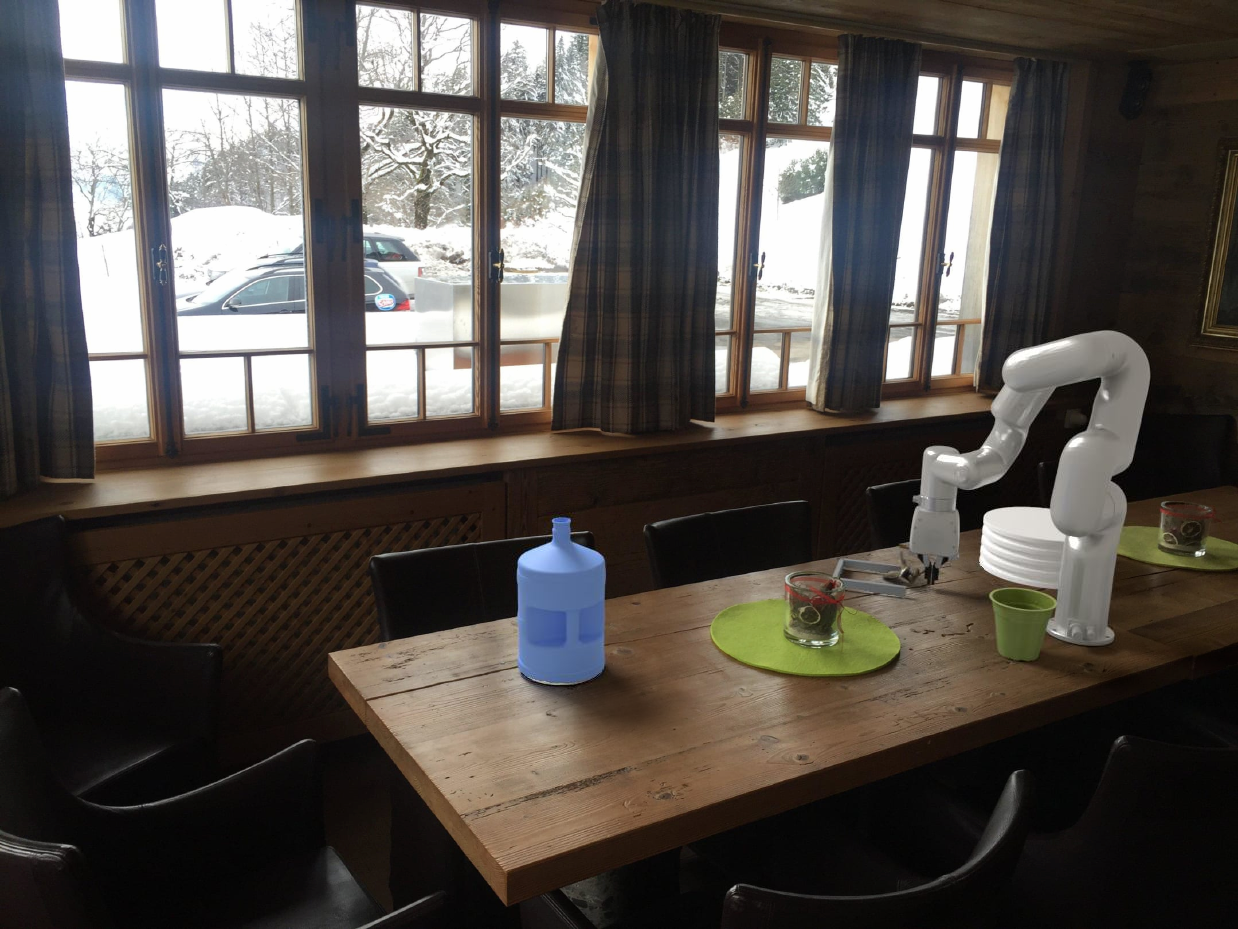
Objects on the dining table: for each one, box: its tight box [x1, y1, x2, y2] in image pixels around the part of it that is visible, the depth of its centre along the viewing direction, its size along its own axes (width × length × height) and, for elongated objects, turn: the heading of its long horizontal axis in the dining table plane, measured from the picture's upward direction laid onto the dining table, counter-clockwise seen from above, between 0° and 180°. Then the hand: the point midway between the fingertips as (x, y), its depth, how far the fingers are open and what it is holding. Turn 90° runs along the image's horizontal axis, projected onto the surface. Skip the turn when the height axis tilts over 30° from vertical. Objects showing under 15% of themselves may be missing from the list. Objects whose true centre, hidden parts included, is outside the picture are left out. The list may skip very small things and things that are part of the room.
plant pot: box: [989, 587, 1058, 662], centre depth 188 cm, size 12×12×11 cm
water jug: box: [516, 517, 607, 683], centre depth 178 cm, size 16×16×28 cm
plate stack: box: [979, 506, 1066, 590], centre depth 237 cm, size 28×28×12 cm
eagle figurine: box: [881, 550, 925, 588], centre depth 227 cm, size 8×7×9 cm
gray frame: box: [831, 557, 912, 598], centre depth 227 cm, size 15×16×2 cm
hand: (930, 582), depth 222 cm, fingers closed
